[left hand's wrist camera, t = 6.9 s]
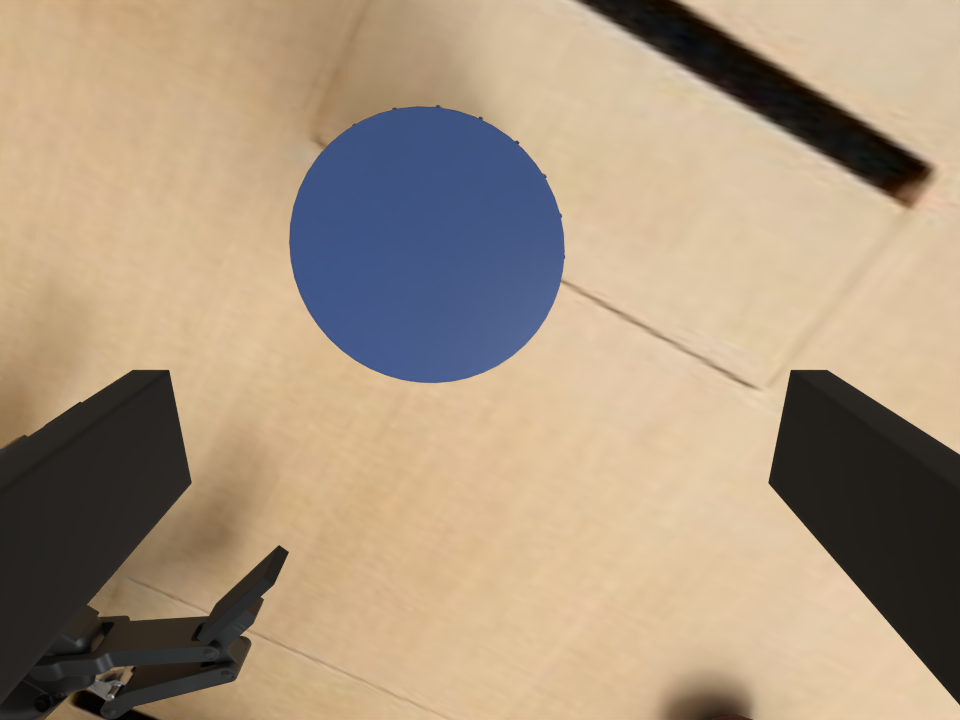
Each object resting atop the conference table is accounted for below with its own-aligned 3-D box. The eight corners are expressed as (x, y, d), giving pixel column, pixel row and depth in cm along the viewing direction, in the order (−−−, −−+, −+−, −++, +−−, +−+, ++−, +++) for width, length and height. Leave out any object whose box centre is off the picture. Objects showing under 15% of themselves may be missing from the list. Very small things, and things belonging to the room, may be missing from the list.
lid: (301, 93, 20) (284, 88, 18) (579, 122, 20) (587, 120, 18) (303, 354, 23) (289, 371, 21) (541, 377, 23) (546, 395, 21)
